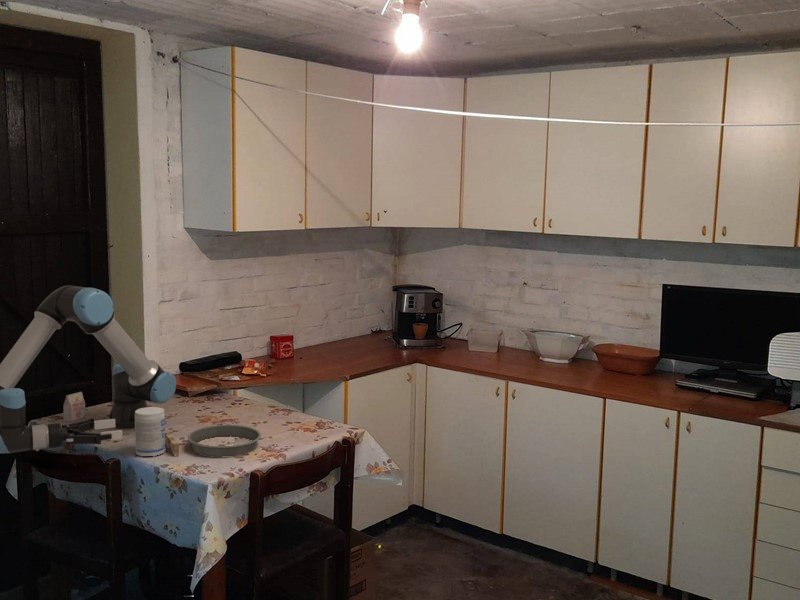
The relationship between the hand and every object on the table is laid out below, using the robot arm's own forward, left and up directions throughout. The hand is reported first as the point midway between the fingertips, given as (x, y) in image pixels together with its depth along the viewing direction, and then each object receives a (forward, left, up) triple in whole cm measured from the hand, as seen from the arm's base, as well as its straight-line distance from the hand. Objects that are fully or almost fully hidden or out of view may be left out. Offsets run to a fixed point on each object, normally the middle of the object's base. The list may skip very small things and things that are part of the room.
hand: (118, 428), depth 252 cm
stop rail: (+12, +12, -10) cm, 19 cm away
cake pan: (+27, +21, -10) cm, 36 cm away
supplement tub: (+7, +7, -10) cm, 14 cm away
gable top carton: (-41, +31, -10) cm, 52 cm away
